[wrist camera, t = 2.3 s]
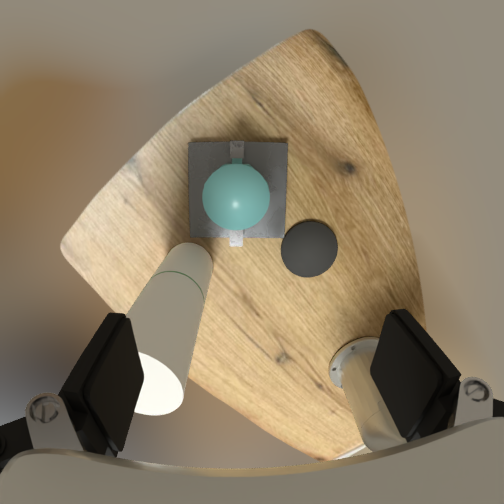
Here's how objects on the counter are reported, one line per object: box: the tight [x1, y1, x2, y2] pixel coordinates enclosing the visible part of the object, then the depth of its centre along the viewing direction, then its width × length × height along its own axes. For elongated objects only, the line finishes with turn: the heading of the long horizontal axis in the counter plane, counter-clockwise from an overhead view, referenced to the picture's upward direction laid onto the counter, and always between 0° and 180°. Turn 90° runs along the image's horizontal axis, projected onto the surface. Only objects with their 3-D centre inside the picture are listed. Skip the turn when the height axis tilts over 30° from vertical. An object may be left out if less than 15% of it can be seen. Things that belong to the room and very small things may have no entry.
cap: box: [202, 158, 270, 230], centre depth 34 cm, size 10×7×5 cm
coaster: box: [281, 221, 338, 277], centre depth 42 cm, size 8×8×1 cm
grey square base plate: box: [188, 141, 288, 246], centre depth 36 cm, size 13×13×7 cm
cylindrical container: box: [126, 243, 213, 415], centre depth 31 cm, size 7×7×25 cm
